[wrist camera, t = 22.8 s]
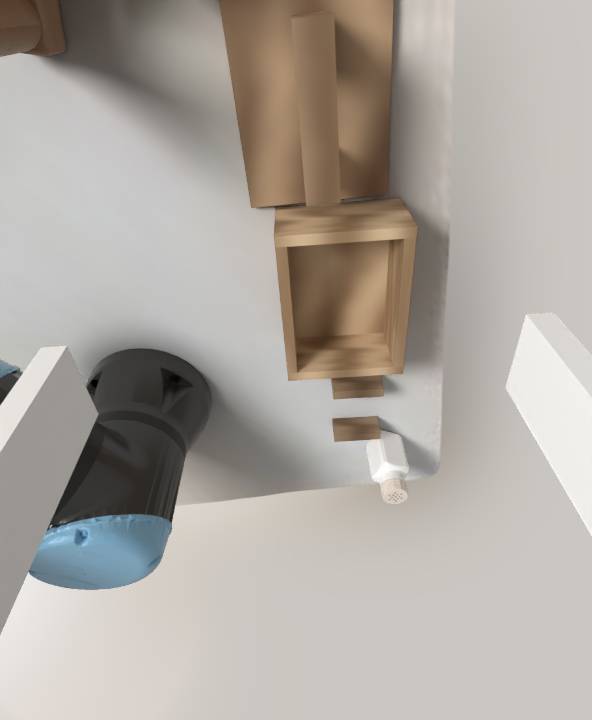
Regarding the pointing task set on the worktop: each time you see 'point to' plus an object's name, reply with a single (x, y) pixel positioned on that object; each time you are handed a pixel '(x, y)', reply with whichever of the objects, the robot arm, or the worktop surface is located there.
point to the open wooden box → (345, 287)
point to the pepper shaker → (389, 466)
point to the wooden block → (31, 27)
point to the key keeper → (360, 425)
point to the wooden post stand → (311, 97)
